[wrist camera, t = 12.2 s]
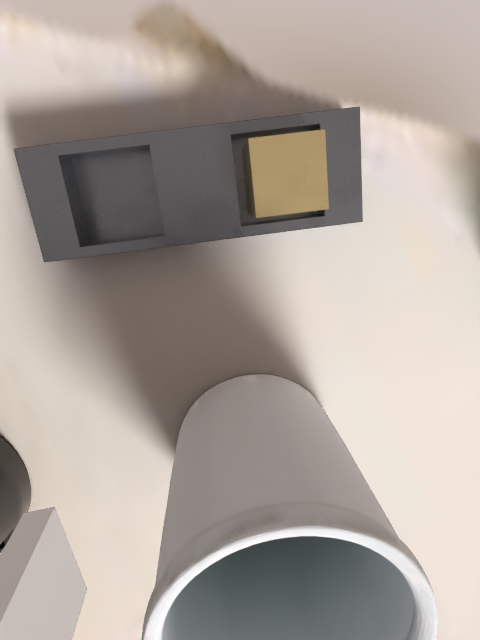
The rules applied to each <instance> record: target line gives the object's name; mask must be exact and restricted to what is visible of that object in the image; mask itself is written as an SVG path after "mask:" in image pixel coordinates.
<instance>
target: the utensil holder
mask: <svg viewBox="0 0 480 640" xmlns="http://www.w3.org/2000/svg"><path fill="white" fill-rule="evenodd" d="M436 632H437V606H436V601H435V597H434V594H433V590H432V588H431V585H430V583H429V581H428V578H427V576H426V574H425V572H424V571H423V569H422V567H421V565H420V564H419V562H418V560H417V559H416V557H415V556H414V555H413V553H412V552H411V551H410V549H409V548H408V547H407V546H406V545H405V544H404V543H403V542H402V541H401V540H400V539H399V538H398V536H397V534H396V532H395V530H394V529H393V527H392V525H391V523H390V522H389V520H388V518H387V516H386V515H385V513H384V511H383V509H382V508H381V506H380V504H379V502H378V501H377V499H376V497H375V495H374V494H373V492H372V490H371V489H370V487H369V485H368V483H367V482H366V480H365V478H364V477H363V475H362V473H361V471H360V470H359V468H358V466H357V464H356V463H355V461H354V459H353V457H352V456H351V454H350V452H349V450H348V449H347V447H346V445H345V443H344V442H343V440H342V438H341V437H340V435H339V433H338V432H337V430H336V429H335V427H334V425H333V424H332V422H331V421H330V419H329V417H328V416H327V414H326V412H325V411H324V409H323V408H322V406H321V405H320V403H319V402H318V401H317V400H316V398H315V397H314V396H313V395H312V394H311V393H310V392H308V391H307V390H306V389H305V388H303V387H302V386H300V385H299V384H297V383H295V382H293V381H291V380H288V379H286V378H283V377H279V376H275V375H268V374H253V375H244V376H239V377H235V378H232V379H229V380H226V381H224V382H221V383H219V384H217V385H216V386H214V387H212V388H211V389H209V390H208V391H206V392H205V393H204V394H203V395H201V396H200V397H199V398H198V399H197V400H196V402H195V403H194V404H193V405H192V406H191V408H190V409H189V411H188V412H187V414H186V416H185V418H184V420H183V423H182V425H181V429H180V432H179V436H178V441H177V447H176V453H175V458H174V464H173V469H172V475H171V481H170V488H169V495H168V501H167V508H166V514H165V520H164V526H163V533H162V540H161V547H160V555H159V562H158V569H157V576H156V584H155V588H154V590H153V592H152V595H151V597H150V600H149V603H148V607H147V610H146V614H145V618H144V624H143V632H142V640H435V639H436Z"/></svg>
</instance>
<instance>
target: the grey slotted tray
mask: <svg viewBox="0 0 480 640" xmlns="http://www.w3.org/2000/svg"><path fill="white" fill-rule="evenodd" d="M323 129H325V136H326V157H327V179H328V201H329V209H326V210H318V211H309V212H301V213H293V214H285V215H277V216H269V217H261V218H255V217H254V216H252V215H251V214H249V213H248V206H247V197H246V187H245V178H244V168H243V159H242V147H243V146H244V144H245V143H246V141H247V140H248V138H256V137H264V136H273V135H281V134H289V133H298V132H306V131H315V130H323ZM14 152H15V156H16V160H17V163H18V167H19V171H20V174H21V178H22V182H23V185H24V189H25V193H26V197H27V200H28V204H29V208H30V211H31V215H32V219H33V223H34V226H35V230H36V234H37V237H38V241H39V245H40V249H41V252H42V256H43V260H44V262H51V261H59V260H67V259H75V258H82V257H90V256H98V255H106V254H114V253H121V252H129V251H137V250H145V249H153V248H160V247H168V246H176V245H184V244H192V243H200V242H207V241H215V240H223V239H231V238H239V237H246V236H254V235H262V234H270V233H278V232H286V231H293V230H301V229H309V228H317V227H325V226H332V225H340V224H348V223H356V222H363V218H362V178H361V138H360V107H352V108H344V109H336V110H328V111H319V112H311V113H303V114H295V115H286V116H278V117H270V118H262V119H254V120H245V121H237V122H229V123H221V124H213V125H204V126H196V127H188V128H180V129H171V130H163V131H155V132H147V133H139V134H130V135H122V136H114V137H106V138H97V139H89V140H81V141H73V142H65V143H56V144H48V145H40V146H32V147H24V148H15V149H14Z"/></svg>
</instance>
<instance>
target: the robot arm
mask: <svg viewBox="0 0 480 640" xmlns="http://www.w3.org/2000/svg"><path fill="white" fill-rule="evenodd" d="M30 501H31V485H30V480H29V476H28V473H27V471H26V468H25V466H24V464H23V462H22V460H21V459H20V457H19V456H18V454H17V453H16V452H15V451H14V449H13V448H12V447H11V446H10V445H9V444H8V443H7V442H6V441H5V440H4V439H3V438H2V437H0V553H1V552H2V553H1V555H0V640H72V638H73V635H74V632H75V628H76V625H77V621H78V618H79V614H80V611H81V608H82V604H83V601H84V597H85V594H86V590H87V587H86V585H85V582H84V580H83V577H82V575H81V572H80V570H79V567H78V565H77V562H76V559H75V557H74V554H73V552H72V549H71V547H70V544H69V542H68V539H67V537H66V534H65V532H64V529H63V526H62V524H61V521H60V519H59V516H58V514H57V511H56V509H55V507H51V508H47V509H42V510H37V511H32V512H28V510H29V506H30Z"/></svg>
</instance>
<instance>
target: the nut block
mask: <svg viewBox="0 0 480 640" xmlns="http://www.w3.org/2000/svg"><path fill="white" fill-rule="evenodd" d="M242 159H243V168H244V178H245V187H246V197H247V206H248V213H249V214H251V215H252V216H254V217H255V218H261V217H269V216H277V215H285V214H293V213H301V212H309V211H318V210H326V209H329V201H328V179H327V157H326V136H325V129H323V130H315V131H306V132H298V133H289V134H281V135H273V136H264V137H256V138H248V140H247V141H246V143H245V144H244V146H243V147H242Z"/></svg>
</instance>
